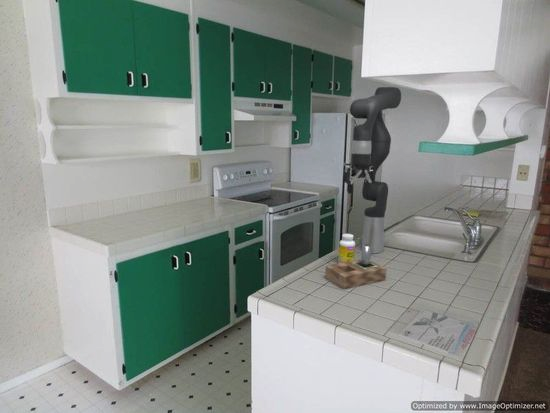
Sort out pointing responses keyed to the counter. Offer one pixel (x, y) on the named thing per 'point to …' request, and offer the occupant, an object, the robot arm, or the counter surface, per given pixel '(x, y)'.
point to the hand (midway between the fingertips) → (358, 192)
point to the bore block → (354, 274)
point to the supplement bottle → (346, 248)
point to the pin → (365, 255)
